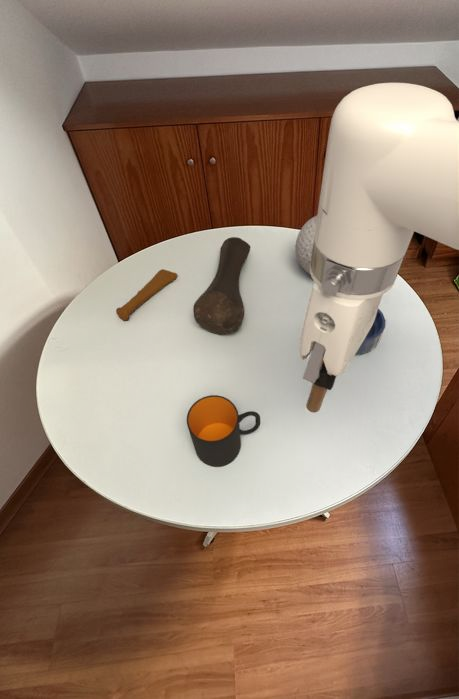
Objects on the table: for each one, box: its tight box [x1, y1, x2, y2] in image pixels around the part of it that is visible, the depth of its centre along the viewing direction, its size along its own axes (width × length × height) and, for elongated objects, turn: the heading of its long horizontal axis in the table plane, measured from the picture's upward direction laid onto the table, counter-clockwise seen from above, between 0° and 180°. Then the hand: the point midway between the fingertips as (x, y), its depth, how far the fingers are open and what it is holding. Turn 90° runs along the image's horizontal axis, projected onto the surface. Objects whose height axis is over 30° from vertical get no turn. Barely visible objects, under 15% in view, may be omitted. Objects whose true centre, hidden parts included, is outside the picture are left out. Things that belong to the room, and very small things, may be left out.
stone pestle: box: [192, 236, 251, 335], centre depth 87 cm, size 11×10×28 cm
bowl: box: [354, 307, 386, 356], centre depth 78 cm, size 12×12×5 cm
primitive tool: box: [115, 268, 179, 322], centre depth 90 cm, size 19×6×4 cm, turn 152°
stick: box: [305, 383, 328, 413], centre depth 48 cm, size 2×2×14 cm
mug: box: [186, 394, 261, 468], centre depth 62 cm, size 8×12×10 cm
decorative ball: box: [295, 215, 317, 275], centre depth 87 cm, size 15×15×15 cm
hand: (324, 375), depth 47 cm, fingers closed on stick, 2 cm apart
